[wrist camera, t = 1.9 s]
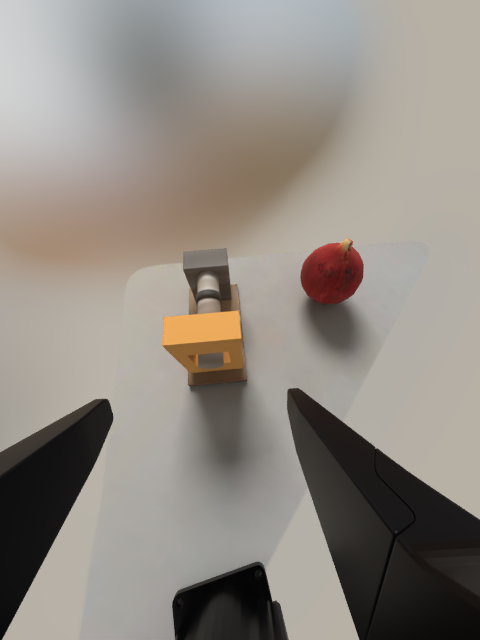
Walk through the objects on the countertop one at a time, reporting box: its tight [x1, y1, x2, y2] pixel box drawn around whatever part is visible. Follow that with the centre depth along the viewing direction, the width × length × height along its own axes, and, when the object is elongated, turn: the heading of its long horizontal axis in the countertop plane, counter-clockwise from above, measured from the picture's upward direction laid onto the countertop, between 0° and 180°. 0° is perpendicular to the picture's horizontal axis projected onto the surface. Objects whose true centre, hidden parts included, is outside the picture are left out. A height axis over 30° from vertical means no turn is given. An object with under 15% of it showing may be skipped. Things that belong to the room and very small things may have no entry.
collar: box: [162, 311, 243, 373], centre depth 18 cm, size 2×5×8 cm, turn 95°
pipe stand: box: [183, 248, 247, 386], centre depth 21 cm, size 11×6×6 cm, turn 5°
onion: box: [301, 238, 363, 304], centre depth 22 cm, size 6×6×8 cm
